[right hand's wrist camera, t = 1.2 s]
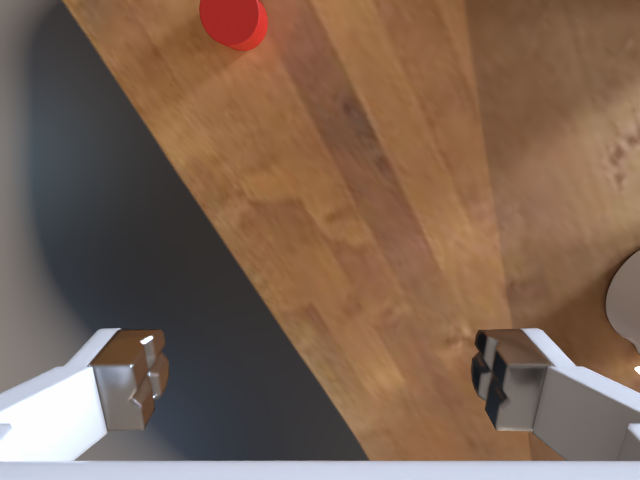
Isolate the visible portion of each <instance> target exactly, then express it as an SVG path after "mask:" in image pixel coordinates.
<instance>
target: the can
mask: <svg viewBox="0 0 640 480" xmlns="http://www.w3.org/2000/svg"><path fill="white" fill-rule="evenodd" d="M199 9H200V18H201V22H202V24H203V27H204V28H205V30H206V32H207V33H208V34H209V35H210V36H211V37H212V38H213V39H214V40H215V41H217V42H219V43H221V44H223V45H225V46H228V47H230V48H232V49H235V50H239V51H247V50H250V49H253V48H255V47H256V46H257V45H259V44H260V43H261V41H262V40H263V38H264V36H265V34H266V31H267V24H268V21H267V15H266V11H265V9H264V7H263V5H262V3H261V2H260V1H259V0H201V1H200V8H199Z"/></svg>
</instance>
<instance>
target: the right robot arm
mask: <svg viewBox="0 0 640 480" xmlns="http://www.w3.org/2000/svg"><path fill="white" fill-rule="evenodd" d="M606 313H607V317H608V319H609V322H610V324H611V325H612V327H613V328H614V330H615V331H616V332H617V333H618V334H619V335H621V336H622V337H624V338H625V339H627V340H628V341H630V342H631V343H633V344H634V345H635V347H636V349H637V351H638V353H639V355H640V250H639V251H637V252H636V253H635V254H633V255H632V256H631V257H630V258H629V259H628V260H627V261H626V262H625V263H624V264H623V265H622V266H621V268H620V269H619V270H618V272H617V273H616V275H615V276H614V278H613V280H612V282H611V284H610V286H609V289H608V292H607V297H606ZM164 346H165V339H164V334H163V332H162V331H161V330H160V329H120V328H105V329H99V330H98V331H97V332H96V333H95V334H94V335H93V336H92V337H91V338H90V339H89V340H88V341H87V342H86V343H85V344H84V345H83V347H81V349H80V350H79V351H78V352H77V353H76V354H75V355H74V356H73V357H72V358H71V359H70V360H69V361H68V362H67V363H66V364H65V365H64V366H63V367H55V368H53V369H51V370H49V371H46V372H44V373H42V374H40V375H38V376H36V377H34V378H31V379H29V380H27V381H25V382H23V383H21V384H19V385H17V386H14V387H12V388H10V389H8V390H6V391H4V392H2V393H0V480H640V393H638V392H636V391H634V390H632V389H630V388H628V387H626V386H623V385H621V384H619V383H617V382H615V381H613V380H611V379H608V378H606V377H604V376H602V375H600V374H598V373H596V372H594V371H591V370H589V369H587V368H585V367H577V366H576V365H575V364H574V363H573V362H572V361H571V360H570V359H569V358H568V357H567V356H566V355H565V354H564V353H563V352H562V351H561V350H560V348H559V347H558V346H557V345H556V344H555V343H554V342H553V341H552V340H551V339H550V338H549V337H548V336H547V335H546V334H545V333H544V332H543V330H541V329H538V328H527V329H497V330H478V332H477V334H476V338H475V346H476V347H477V349H478V351H479V352H478V353H477V354H476V355H475V356H474V357H473V358H472V365H471V376H472V382H473V386H474V389H475V391H476V393H477V395H478V396H479V397H480V398H482V399H483V400H485V401H486V406H485V410H486V412H487V414H488V416H489V418H490V420H491V422H492V423H493V425H494V427H495V429H496V430H506V431H533V432H532V433H533V434H534V435H536V436H537V437H538V438H539V439H540V440H542V441H543V442H544V443H545V444H547V445H548V446H549V447H550V448H552V449H553V450H554V451H555V452H557V453H558V454H559V455H560V456H561V457H563V458H564V459H565V460H566V461H74V460H75V459H76V458H77V457H79V456H80V455H81V454H82V453H84V452H85V451H86V450H87V449H89V448H90V447H91V446H92V445H93V444H95V443H96V442H97V441H98V440H100V439H101V438H102V437H103V436H105V435H106V434H107V431H133V430H144V429H145V427H146V425H147V424H148V422H149V420H150V418H151V416H152V414H153V412H154V410H155V406H154V401H155V400H157V399H158V398H160V397H161V396H162V395H163V393H164V391H165V389H166V386H167V381H168V377H169V364H168V358H167V357H166V356H165V355H164V354H163V353H162V352H161V351H162V349H163V347H164ZM635 370H636V371H637V372H638V373H639V374H640V367H635Z"/></svg>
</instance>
